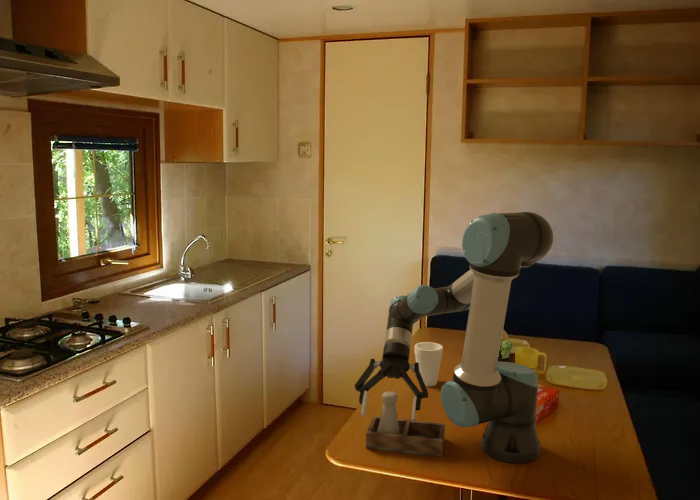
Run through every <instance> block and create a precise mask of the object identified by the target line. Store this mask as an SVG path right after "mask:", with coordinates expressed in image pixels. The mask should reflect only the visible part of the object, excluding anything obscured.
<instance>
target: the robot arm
mask: <svg viewBox="0 0 700 500" xmlns="http://www.w3.org/2000/svg"><path fill="white" fill-rule="evenodd" d="M553 232H554V231H553V229H552V227H551V224H550V223H549V222H548V220H547V219H545V218H544V216H542V215H540V214H538V213H536V212H531V211H522V212H521V211H519V212H504V213H502V212H501V213H500V212H499V213H498V212H493V213H487V214H481V215H479V216H477V217H475V218H473V219H472V220H471V221H470V222H469V223H468V224H467V226H466V228H465V230H464V232H463V235H462V240H461V244H462V245H461V247H462V250H463V251H464V252H463V256H464V258H465V259H466V260H467V262H468V263H469V270H468V271H466V272H465V273H464V274H463V275H461V276H460V277H459V278H457V279H456V280H455V281H454V282H452V283H451V284H450V285H448V286H443V287H437V288H435V287H434V288H433V286H429V285H426V284H422V285H419V286H417V287H415V288H414V289H412V290H411V291H410V292H409V293H408V294H407V295H398V296H394V297H393V298H392V299H391V301H390V305H389V308H388V317H387V324H386V332H385V336H384V337H385V338H384V343H383V344H384V346H383V350H382V351H383V352H382V358H381V360H380V361H379V360H375V358H371V359H370V360H369V365H368V366H367V367H366V369H365V370H364V371H363V373H362V374H361V375H360V377H359V378H358V380H357V381H356V383H354V388H355V391H356V392H359V398H358V401H359V405H361V410H360V416H361V418H366V411H367V405H368V400H369V399H368V398H369V394H368V392H369V391H371V389H372V388H374V386H376V385H377V384H378V383H379V382H380V381H381V380H384V379H385V378H386V377H387V378H388V379H396V380H399V379H401V378H402V380H403V381H404V383H406V385H407V386H408V388H409V389H410V390H411V392H412V394H414V395H413V401H412V409H411V416H410V417H411V418H410V420H411V421H412V423H415V421H416V414H417V411H421V406H422V400H423V399H428V398H429V392H428V388H427V386H425V383H424V381H423V379H422V376H421V374H420V371H419V363H418V362H416V361H415V362H414V363H409V361H410V353H411V345H412V335H413V329H414V328H413V327H414V324H416V323H417V322H418V321H420V320H422V318H424V317H430V316H436V315H442V314H450V313H457V312H458V313H461V312H463V311H468V317H467V324H466V329H465V331H466V332H465V336H464V344H463V350H462V351H463V352H462V357H461V362H460V363H459V364H457V365H456V366H455V367H454V369H453V376H452V379H451V380H448V381H446V382H445V383H444V384H443V385H442V386H441V389H440V399H441V400H440V401H441V404H442V407H443V410H444V412H445V414H446V416H447V417H448V419H449V420H450V421H451V422H452V423H453V424H454V425H456V426H457V427H459V428H460V427H461V428H471V427H476V426H478V425H482V424H485V423H487V424H486V427H485V429H484V432H483V434H482V437H481V448H482V450H483V452H484V453H485V454H486V455H488V456H490V457H492V458H494V459H497V460H499V461H502V462H507V463H512V464H513V463H514V464H522V463H531V462H533V461H535V460H537V459H538V458H539V457H540V455H541V442H540V440H539V438H538V437H539V436H538V433H537V431H538V430H537V428H536V415H537V414H536V413H537V403H538V402H537V400H538V389H539V385H538V380H539V379H538V377H539V375H538V374H537V372H536V371H535V370H534V369H533V368H531V367H529V366H526V365H523V364H521V363H516V362H509V361H499V358H498V357H499V351H500V345H501V339H502V333H503V329H504V326H505V320H506V315H507V310H508V309H507V308H508V302H509V298H510V297H509V296H510V292H511V284H512V281H513V280H514V279H516V278H517V277H519V275H520V272H521V268H528V267H529V268H530V267H531V266H533V265H534V264H535V263H538V262H539V261H540V260H542V258H544V257H545V256H546V255H548V254H549V251H551V248H552V246H553V242H554V233H553ZM378 367H380V369H379V370H378V371H377V373H375V375H373V376H372V374H373V372H374V371H375V369H377V368H378ZM409 370H411V371H412V373H414V374H415V378H416V379H417V383H418V385H419V387H420V389H421V391H420V389H419V388H418V387H417V385H416V384H415V383H414V381H413V380H412V379H411V377H410V376H409V375H408V373H407V372H408V371H409ZM371 376H372V377H371ZM370 377H371V378H370ZM369 378H370V379H369ZM368 379H369V380H368Z"/></svg>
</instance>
